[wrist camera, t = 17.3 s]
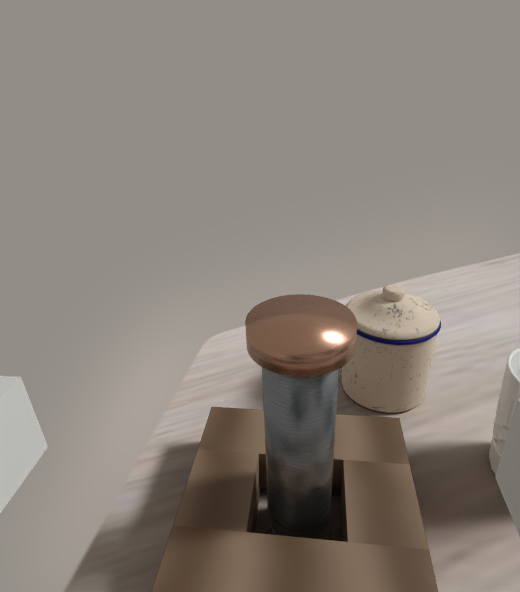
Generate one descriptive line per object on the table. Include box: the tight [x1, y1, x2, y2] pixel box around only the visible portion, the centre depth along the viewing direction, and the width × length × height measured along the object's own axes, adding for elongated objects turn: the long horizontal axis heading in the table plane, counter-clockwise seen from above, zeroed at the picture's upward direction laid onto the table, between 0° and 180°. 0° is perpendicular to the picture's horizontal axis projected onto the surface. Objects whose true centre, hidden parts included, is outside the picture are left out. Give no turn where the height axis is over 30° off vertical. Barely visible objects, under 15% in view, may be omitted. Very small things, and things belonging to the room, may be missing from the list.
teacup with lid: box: [341, 284, 441, 413], centre depth 44 cm, size 12×9×12 cm
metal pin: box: [245, 295, 357, 540], centre depth 27 cm, size 6×6×18 cm
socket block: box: [152, 407, 438, 592], centre depth 31 cm, size 16×16×4 cm
